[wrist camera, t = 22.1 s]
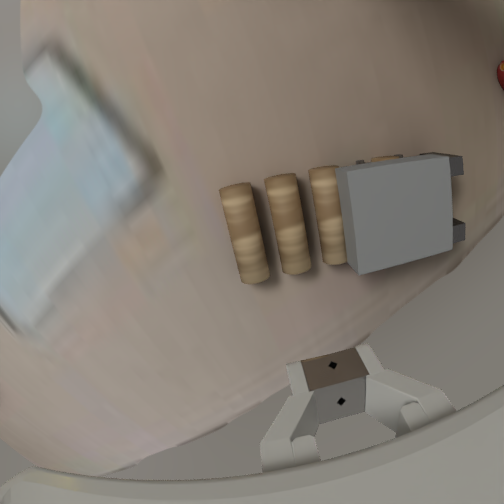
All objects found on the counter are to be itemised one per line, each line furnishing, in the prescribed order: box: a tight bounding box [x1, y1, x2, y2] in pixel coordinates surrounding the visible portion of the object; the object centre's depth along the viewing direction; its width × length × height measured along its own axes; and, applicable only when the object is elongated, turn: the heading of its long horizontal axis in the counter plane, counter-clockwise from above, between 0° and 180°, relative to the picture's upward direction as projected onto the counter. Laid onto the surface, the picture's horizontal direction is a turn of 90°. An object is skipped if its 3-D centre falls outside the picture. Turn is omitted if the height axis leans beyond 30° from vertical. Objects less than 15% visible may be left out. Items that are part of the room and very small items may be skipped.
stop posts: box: [420, 152, 465, 243], centre depth 37 cm, size 11×2×7 cm, turn 12°
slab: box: [335, 154, 453, 275], centre depth 35 cm, size 12×14×4 cm
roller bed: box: [219, 154, 403, 284], centre depth 39 cm, size 12×25×4 cm, turn 102°
